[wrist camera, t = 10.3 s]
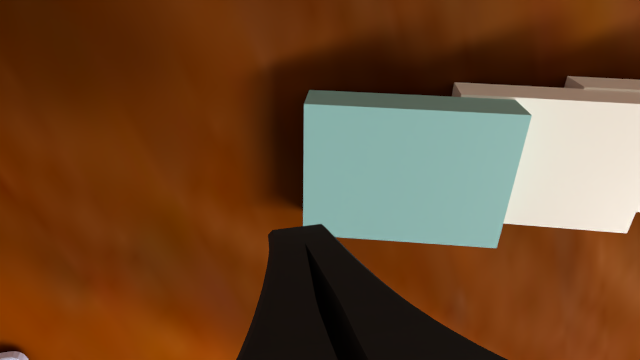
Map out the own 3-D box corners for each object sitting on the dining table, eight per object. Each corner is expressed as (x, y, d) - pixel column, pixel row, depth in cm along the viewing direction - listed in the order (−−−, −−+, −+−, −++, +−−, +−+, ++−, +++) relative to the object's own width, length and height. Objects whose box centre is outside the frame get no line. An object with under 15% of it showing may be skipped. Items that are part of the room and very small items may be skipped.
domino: (434, 198, 18) (607, 211, 18) (439, 218, 17) (626, 233, 16) (454, 82, 16) (653, 92, 15) (461, 94, 15) (681, 106, 14)
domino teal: (307, 211, 17) (485, 223, 17) (302, 234, 16) (496, 247, 15) (309, 89, 15) (515, 99, 15) (304, 103, 14) (531, 115, 13)
